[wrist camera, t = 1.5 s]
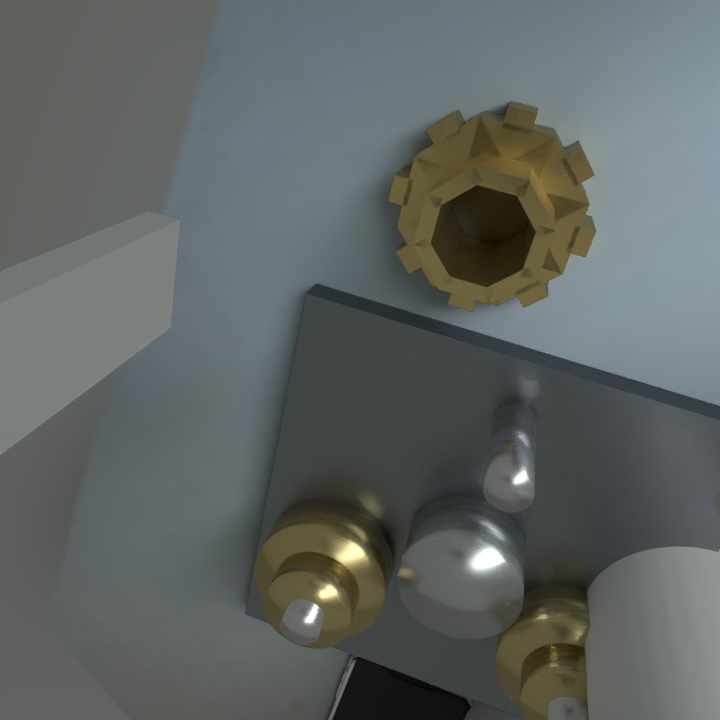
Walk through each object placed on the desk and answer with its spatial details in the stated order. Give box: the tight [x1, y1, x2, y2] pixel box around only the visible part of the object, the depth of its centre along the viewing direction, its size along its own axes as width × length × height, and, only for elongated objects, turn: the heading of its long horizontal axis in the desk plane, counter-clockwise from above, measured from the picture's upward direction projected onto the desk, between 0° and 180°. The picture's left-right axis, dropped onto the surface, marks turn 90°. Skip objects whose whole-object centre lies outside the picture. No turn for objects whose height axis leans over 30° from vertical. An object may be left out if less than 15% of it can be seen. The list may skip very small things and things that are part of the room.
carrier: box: [245, 284, 720, 720], centre depth 33 cm, size 22×22×7 cm
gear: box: [388, 101, 596, 312], centre depth 26 cm, size 8×8×6 cm
